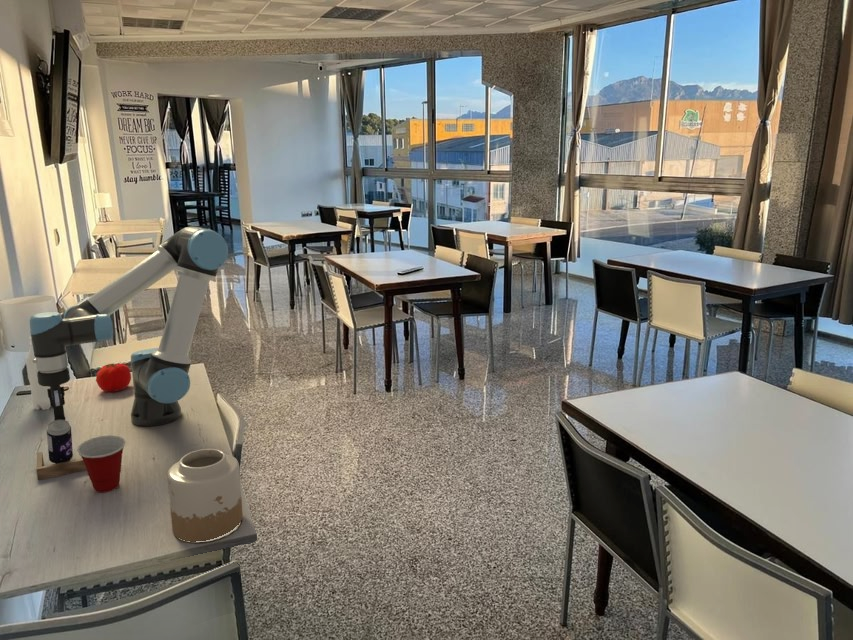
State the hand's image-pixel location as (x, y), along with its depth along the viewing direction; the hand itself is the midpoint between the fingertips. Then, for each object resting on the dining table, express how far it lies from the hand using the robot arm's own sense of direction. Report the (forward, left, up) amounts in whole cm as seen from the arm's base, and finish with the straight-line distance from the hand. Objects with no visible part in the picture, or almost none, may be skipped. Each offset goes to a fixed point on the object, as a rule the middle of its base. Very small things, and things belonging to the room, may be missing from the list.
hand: (64, 448), depth 172 cm
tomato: (+2, -55, -3) cm, 55 cm away
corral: (-2, +6, -2) cm, 7 cm away
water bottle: (+20, -40, -3) cm, 45 cm away
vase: (-45, +43, -3) cm, 62 cm away
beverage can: (0, +4, -2) cm, 4 cm away
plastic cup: (-17, +21, -3) cm, 27 cm away
